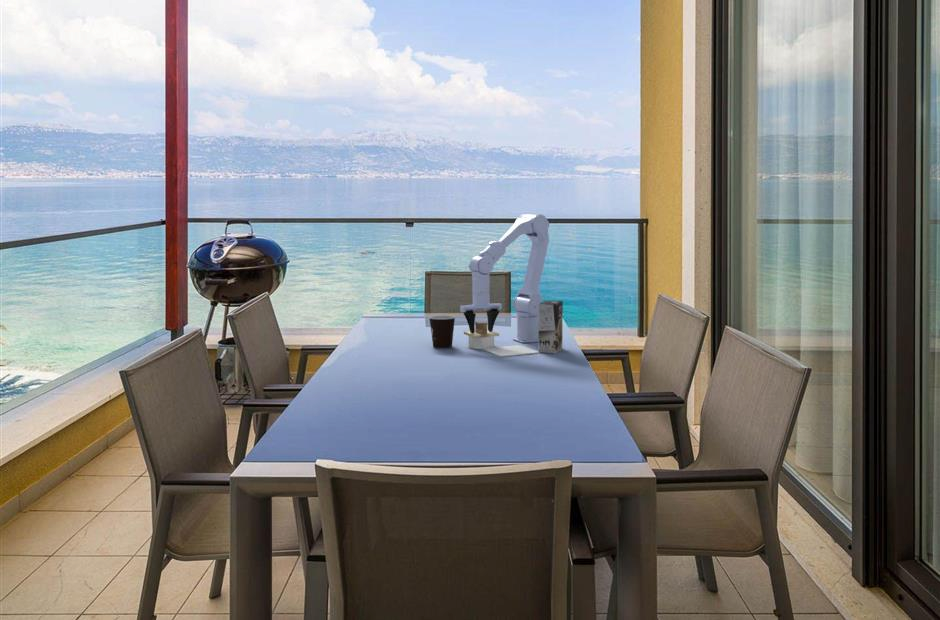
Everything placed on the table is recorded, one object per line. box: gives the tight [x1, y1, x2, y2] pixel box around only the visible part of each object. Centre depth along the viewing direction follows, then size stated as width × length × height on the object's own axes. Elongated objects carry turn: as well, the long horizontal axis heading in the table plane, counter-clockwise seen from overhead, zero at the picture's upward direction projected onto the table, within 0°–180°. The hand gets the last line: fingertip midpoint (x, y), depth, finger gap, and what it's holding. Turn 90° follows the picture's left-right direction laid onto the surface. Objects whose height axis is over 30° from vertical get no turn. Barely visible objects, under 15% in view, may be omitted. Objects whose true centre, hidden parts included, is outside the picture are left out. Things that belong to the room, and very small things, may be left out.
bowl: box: [468, 336, 495, 350], centre depth 287 cm, size 8×8×4 cm
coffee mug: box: [428, 314, 456, 349], centre depth 289 cm, size 12×9×10 cm
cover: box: [463, 320, 500, 338], centre depth 287 cm, size 9×9×4 cm
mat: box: [481, 344, 540, 358], centre depth 279 cm, size 14×14×1 cm
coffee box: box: [537, 300, 564, 354], centre depth 279 cm, size 9×6×16 cm
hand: (481, 331), depth 287 cm, fingers open, 6 cm apart
